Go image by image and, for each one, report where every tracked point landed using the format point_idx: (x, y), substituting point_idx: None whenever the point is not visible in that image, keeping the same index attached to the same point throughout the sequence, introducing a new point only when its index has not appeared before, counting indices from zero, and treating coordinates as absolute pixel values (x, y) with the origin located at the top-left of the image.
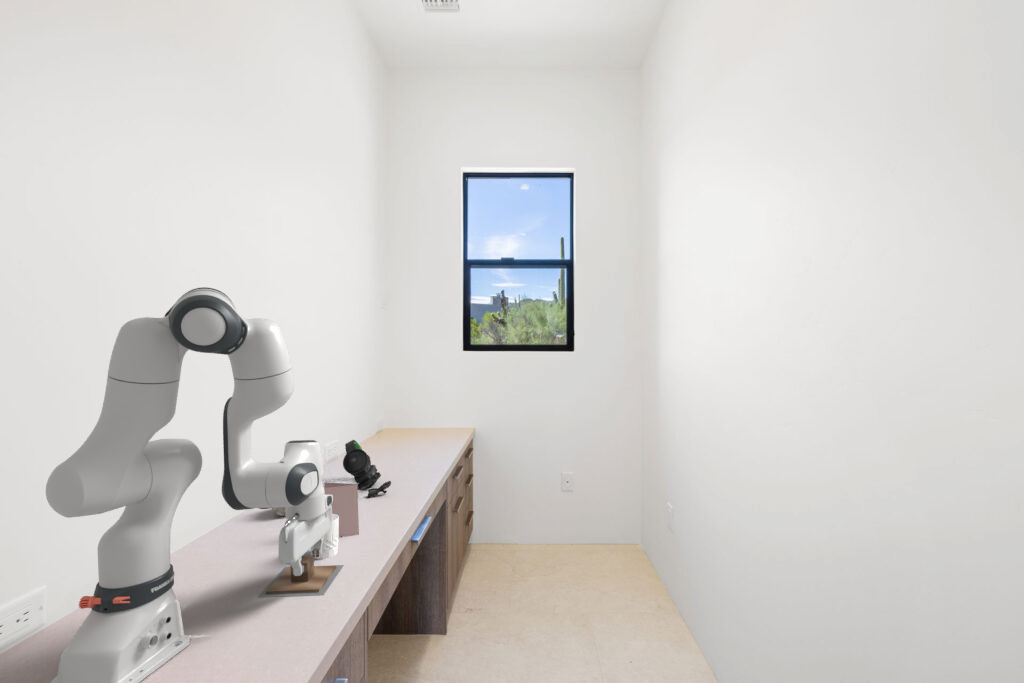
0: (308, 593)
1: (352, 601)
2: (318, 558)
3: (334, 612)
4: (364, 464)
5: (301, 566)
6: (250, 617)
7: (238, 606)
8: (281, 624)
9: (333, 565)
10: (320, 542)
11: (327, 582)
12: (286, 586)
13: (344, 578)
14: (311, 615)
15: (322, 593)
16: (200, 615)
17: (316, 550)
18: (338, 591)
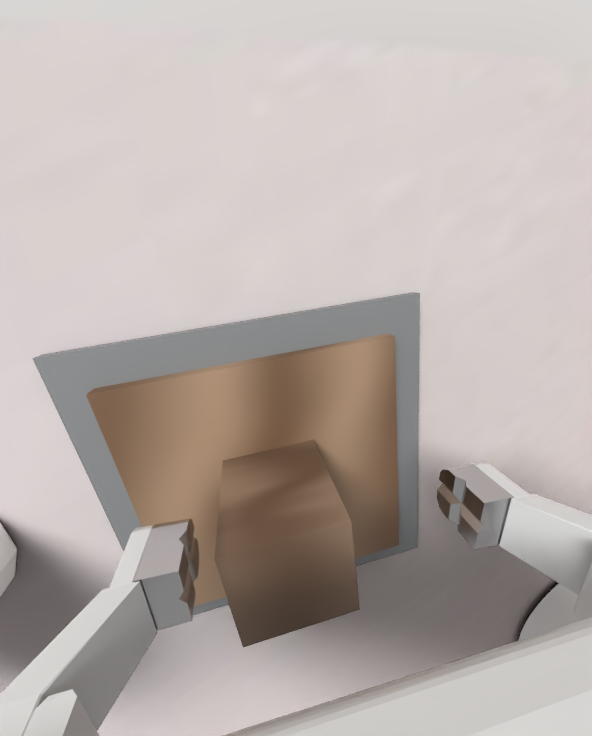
0: (398, 378)
1: (468, 84)
2: (6, 555)
3: (554, 156)
4: None
5: (524, 500)
6: (516, 483)
7: (445, 559)
8: (583, 355)
9: (65, 422)
10: (77, 671)
11: (286, 343)
12: (362, 501)
13: (199, 273)
14: (552, 268)
15: (403, 306)
16: (479, 608)
17: (184, 588)
18: (355, 236)
